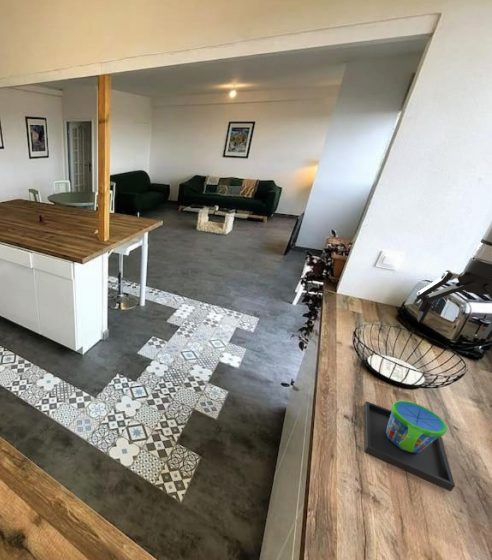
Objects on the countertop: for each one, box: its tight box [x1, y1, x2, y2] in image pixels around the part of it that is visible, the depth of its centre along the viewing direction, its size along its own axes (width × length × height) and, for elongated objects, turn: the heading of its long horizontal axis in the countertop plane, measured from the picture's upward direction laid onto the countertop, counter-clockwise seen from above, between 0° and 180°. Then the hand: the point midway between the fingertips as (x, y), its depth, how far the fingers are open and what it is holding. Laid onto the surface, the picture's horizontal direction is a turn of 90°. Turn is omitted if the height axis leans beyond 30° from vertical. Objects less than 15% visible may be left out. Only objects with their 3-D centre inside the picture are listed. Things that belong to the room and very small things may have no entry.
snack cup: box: [386, 400, 448, 453], centre depth 83 cm, size 16×10×10 cm
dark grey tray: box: [362, 400, 456, 492], centre depth 85 cm, size 17×20×2 cm
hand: (451, 328), depth 89 cm, fingers open, 13 cm apart
